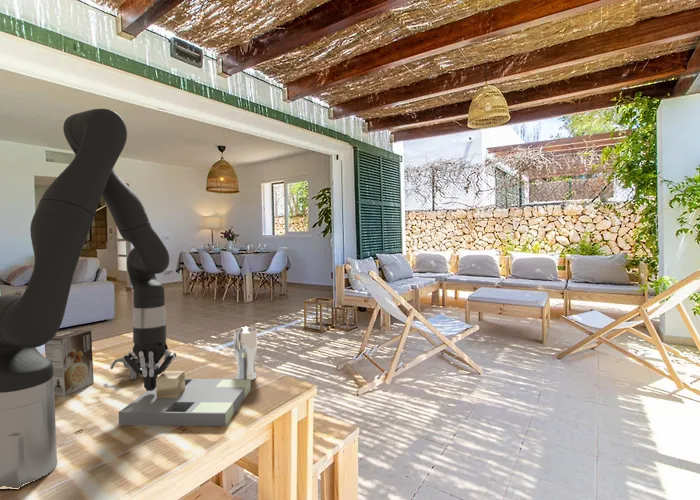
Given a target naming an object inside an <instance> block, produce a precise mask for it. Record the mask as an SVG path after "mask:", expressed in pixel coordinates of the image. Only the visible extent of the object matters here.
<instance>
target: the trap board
mask: <svg viewBox="0 0 700 500" xmlns="http://www.w3.org/2000/svg"><path fill="white" fill-rule="evenodd" d="M251 390H252V380H251V379H236V378H185V390H184V391H183V392H182V393H181V394H180V395H179V396H178V397H177V398H157V393H156V388H155V389H154V390H153V391H146V392H144V393H142V394H141V395H140V396H139V397H137V398H136V399H135V400H133V401H132V402H130V403H129V404H128V405H127V406H125V407H124V408H122V409H121V410H119V411H118V426H166V427H168V426H173V427H174V426H179V427H180V426H181V427H183V426H184V427H186V426H187V427H226V426H227V424H228V423H229V421H230V420H231V419H232V417H233V416H234V415H235V413H236V411H237V410H238V409H239V407H240V406H241V404H242V403H243V402H244V400H245V399H246V397H247V396H248V395H249V393H250V392H251Z"/></svg>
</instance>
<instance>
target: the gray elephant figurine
mask: <svg viewBox="0 0 700 500" xmlns="http://www.w3.org/2000/svg"><path fill="white" fill-rule="evenodd" d="M132 351H133V350H129V351H128V353H127V354H129V353H130V352H132ZM116 363H122V364H123V367H124V368H126V369H129V373H130V375H129V376H130V377H129V379H130V380H132V381H135V380H136V379H137V375H138V374H136V373H135V371H134V370H133V369H132V368H131V367H130V365H129V364H128V363H127V362H126V360H125V359H124V356H123V357H120V358H116V359H114V361H112V364H111V365H110V370H113V369H114V367H115V365H116Z"/></svg>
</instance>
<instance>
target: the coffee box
mask: <svg viewBox="0 0 700 500" xmlns="http://www.w3.org/2000/svg"><path fill="white" fill-rule="evenodd" d="M92 338H93V337H92V330H90V329H89V330H87V329H72V330H69V331H64V332H61V333H58V334H57V333H56V334H55V336H54V337H53V338H52V339H51V340H50V341H49V342H47V343H46V344H44V352H45V355H44V357H45V358H47V359H49V360H50V361H51V362H52V364H53V372H54V396H63V397H67V396H68V395H71V394H73V393H75V392H78V391H79V390H81V389H84V388H85V387H88V386H90V385H92V383H93V384H94V382H95V380H94V379H95V378H94V377H95V376H94V363H93V362H94V361H93V360H94V358H93V341H92Z"/></svg>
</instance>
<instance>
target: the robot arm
mask: <svg viewBox="0 0 700 500" xmlns="http://www.w3.org/2000/svg"><path fill="white" fill-rule="evenodd" d="M62 129H63V135H64V137H65V140H66V141H67V143H68V145H69V148H70V149H71V150H72V151H73V153H74V155H75V156H74V158H73V159H72V161H71V162H70V164H68V165H67V166H66V168H65V169H63V171H62V172H61V173H60V174H59V175H58V176H57V177H56V178H55V179H54V180H53V181H52V183H50V185H49V186H48V187H47V188H46V189H45V190H44V193H43V194H42V196H41V198H40V200H39V203H38V205H37V207H36V209H35V212H34V214H33V217H32V219H31V221H30V222H31V223H30V230H29V231H30V240H31V246H32V251H33V254H34V255H33V256H34V265H33V269H32V272H31V276H30V278H29V280H28V283H27V286H26V288H25V290H24V291H23V294H5V295H0V487H2V486H6V487H12V488H19V487H21V486H22V485H23V484H25V483H28V482H31V481H33V480H36V479H38V478H40V477H42V476H44V477H46V476H47V475H49V474H50V473H51V472H53V470H54V469H56V466H57V465H58V452H57V449H58V448H57V430H56V429H57V428H56V427H57V426H56V405H55V404H56V403H55V401H56V400H55V395H54V372H53V364H52V362H51V361H50V360H49V359H47V358H45V355H42V354H41V353H40V352H39V350H38V349H37V348H38V347H41V346H45V344H46V343H47V342H49V341H50V340H51V339H52V338H53V337H54V336H55V335H57V333H58V331H59V329H60V328H61V325H62V324H63V323H62V322H63V319H64V316H65V313H66V310H67V309H66V308H67V305H68V301H69V300H68V299H69V296H70V290H71V287H72V282H73V279H74V275H75V272H76V268H77V266H78V263H79V261H80V257H81V254H82V251H83V247H84V244H85V242H86V239H87V237H88V235H89V234H90V230H91V228H92V225H93V222H94V219H95V216H96V214H97V211H98V207H99V205H100V201H101V199H103V200H104V202H105V204H106V206H107V209H108V210H109V213H110V214H111V217H112V219H113V222H114V224H115V225H116V227H117V230H118V232H119V235H120V236H121V237H122V239H123V241H127V242H128V243H130V244H132V246H133V248H132V249H130V251H129V253H128V255H127V258H126V259H127V260H126V267H127V274H128V276H129V281H130V284H131V286H132V290H133V312H132V337H133V338H132V342H133V344H134V345H133V347H132V350H131V351H132V352H130V353H129V352H128V353H129V354H128V353H127V354H125V355H124V356H123V357H124V359H125V360H126V362H127V363H128V364H129V365H130V367H131V368H132V369H133V370H134V371H135V373H136V375H141V376H142V377H143V388H144V389H145V390H146V392H147V391H153V390H154V389H155V388H156V378H157V377H159V376H160V375H161V374H163V373H164V372H165V371H167V368H168V367H169V366H170V365H171V364H172V362H173V361H174V360H175V358H176V357H177V353H176V352H172V351H170V350H169V348H168V345H167V312H166V311H167V310H166V304H165V300H166V299H165V294H166V293H165V287H164V285H163V284H162V283H161V282H159V281H158V279H157V276H156V275H159V274H161V273H163V272H165V271H166V270H167V269H168V267H169V265H170V253H169V251H168V249H167V247H166V246H165V244H164V243H163V241H162V239H161V238H160V236H159V235H158V234H157V232H156V231H155V230H154V229H153V227H152V225H151V221H150V220H149V217H148V215H147V212H146V210H145V208H144V207H145V206H144V205H143V203H142V201H141V200H140V198H139V197H138V196H137V195H136V193H135V192H134V191H133V190H132V189H131V188H130V187H129V186H128V185H127V184H126V183H125V181H124V180H123V179H122V178H121V177H120V175H119V174H118V173H117V172H116V170H115V169H114V167H115V165H116V163H117V161H118V159H119V158H120V156H121V154H122V151H123V150H124V148H125V145H126V143H127V138H128V129H127V125H126V123H125V121H124V119H123V118H122V116H121V115H120V114H119V113H117V112H115V111H114V110H112V109H110V108H94V109H89V110H85V111H81V112H78V113H73V114H71V115H69V116H68V117H67V118H66V119H65V121H64V123H63V127H62ZM162 359H163V362H162V363H161V360H162ZM48 473H49V474H48ZM45 475H46V476H45ZM42 478H43V477H42Z"/></svg>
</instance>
